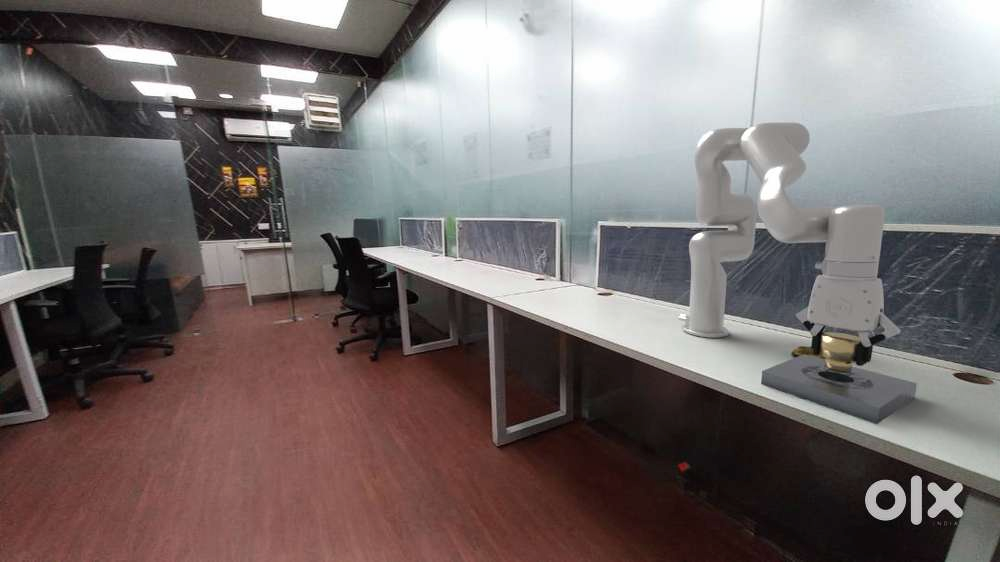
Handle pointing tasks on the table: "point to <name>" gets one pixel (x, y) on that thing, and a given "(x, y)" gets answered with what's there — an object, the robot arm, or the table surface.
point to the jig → (841, 387)
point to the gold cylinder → (839, 351)
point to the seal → (805, 352)
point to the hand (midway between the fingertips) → (839, 357)
